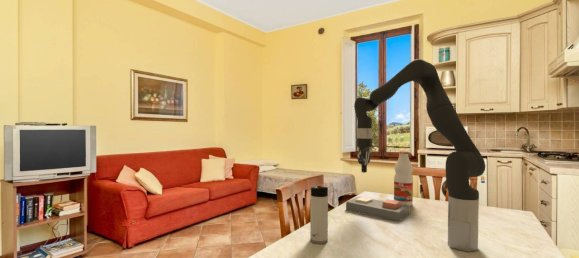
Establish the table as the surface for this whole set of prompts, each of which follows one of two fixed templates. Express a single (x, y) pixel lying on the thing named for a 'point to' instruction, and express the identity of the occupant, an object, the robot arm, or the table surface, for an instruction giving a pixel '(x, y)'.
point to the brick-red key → (391, 204)
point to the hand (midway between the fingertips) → (364, 172)
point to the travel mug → (319, 215)
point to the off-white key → (364, 200)
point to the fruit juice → (403, 180)
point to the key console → (378, 209)
